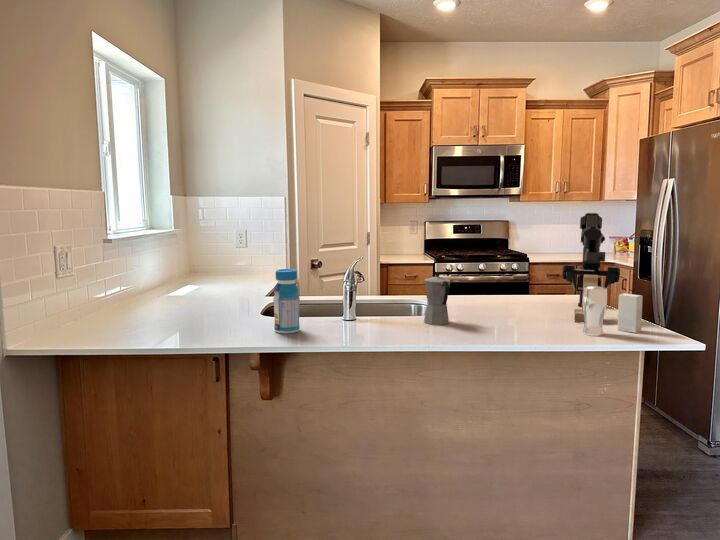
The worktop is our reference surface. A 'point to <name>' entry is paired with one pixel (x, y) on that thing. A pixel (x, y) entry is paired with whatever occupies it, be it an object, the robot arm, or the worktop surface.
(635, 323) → the skincare box
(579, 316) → the square wooden tray
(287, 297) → the beverage bottle
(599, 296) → the beer glass
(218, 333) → the worktop surface
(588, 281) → the pillar block
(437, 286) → the coffeepot
